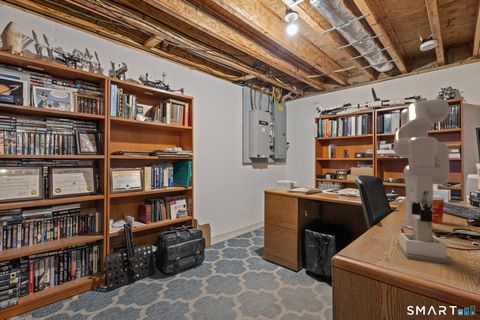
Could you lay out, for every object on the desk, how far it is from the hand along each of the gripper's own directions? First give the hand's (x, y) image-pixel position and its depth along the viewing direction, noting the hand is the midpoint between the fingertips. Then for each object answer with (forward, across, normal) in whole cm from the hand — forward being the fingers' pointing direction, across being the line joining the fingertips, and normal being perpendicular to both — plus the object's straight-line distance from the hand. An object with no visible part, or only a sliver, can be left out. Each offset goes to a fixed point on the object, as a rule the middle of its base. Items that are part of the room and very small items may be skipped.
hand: (421, 217), depth 85 cm
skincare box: (+12, +1, 0) cm, 12 cm away
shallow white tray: (+13, +1, 0) cm, 13 cm away
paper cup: (+15, -52, +21) cm, 58 cm away
